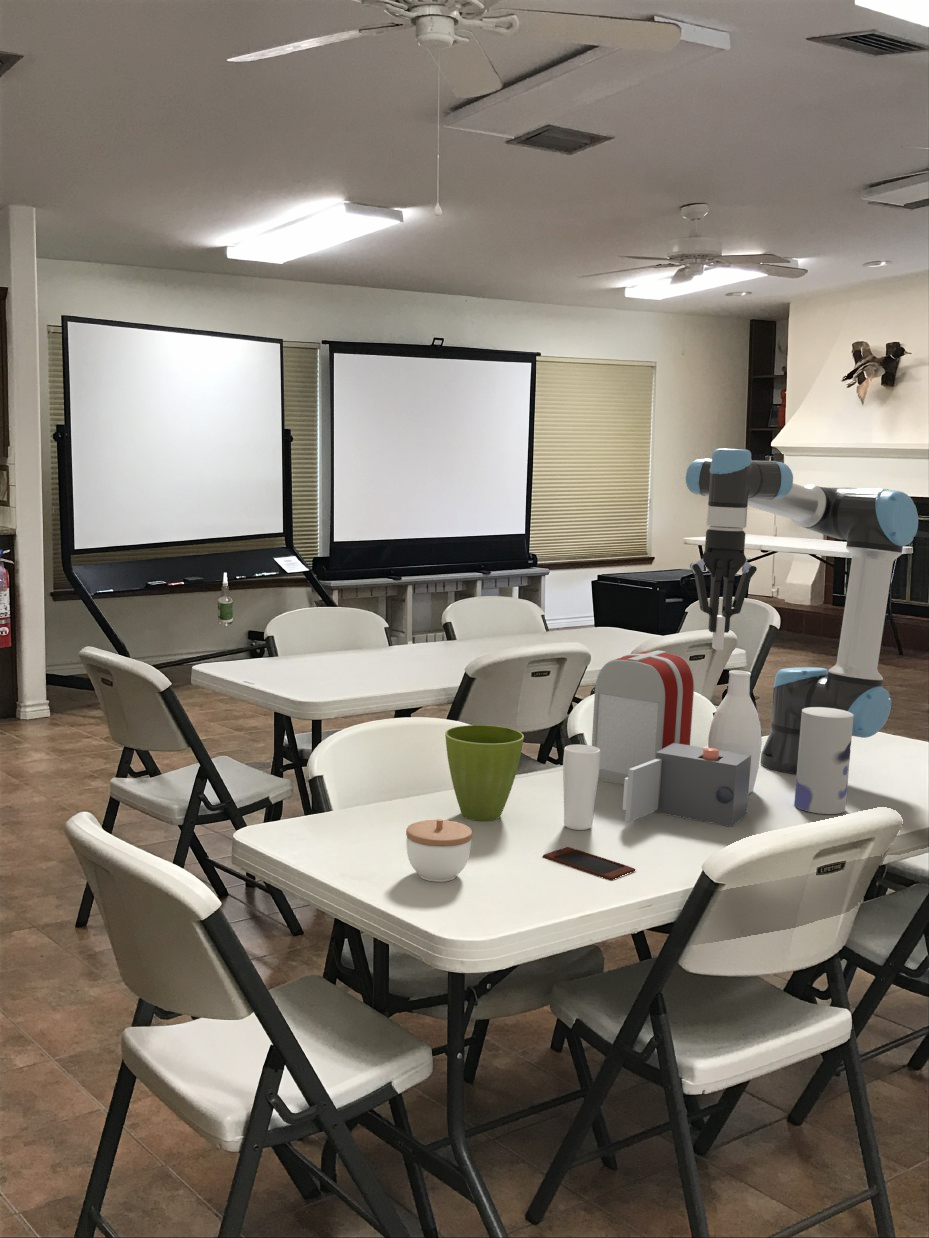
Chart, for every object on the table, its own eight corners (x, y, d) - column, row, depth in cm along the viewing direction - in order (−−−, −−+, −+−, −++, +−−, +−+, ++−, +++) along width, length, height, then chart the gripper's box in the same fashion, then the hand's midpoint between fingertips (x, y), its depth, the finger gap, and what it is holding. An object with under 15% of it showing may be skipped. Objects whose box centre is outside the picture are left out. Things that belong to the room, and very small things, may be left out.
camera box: (669, 800, 243) (673, 742, 242) (746, 814, 236) (751, 755, 234) (650, 812, 234) (654, 753, 232) (730, 828, 226) (734, 766, 225)
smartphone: (567, 845, 210) (637, 867, 200) (567, 850, 210) (636, 873, 200) (541, 854, 205) (611, 877, 195) (541, 859, 205) (611, 883, 195)
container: (847, 817, 237) (856, 718, 234) (795, 812, 239) (803, 714, 236) (842, 803, 246) (850, 708, 244) (792, 798, 248) (800, 704, 246)
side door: (659, 808, 234) (662, 758, 232) (630, 821, 224) (633, 770, 223) (651, 806, 235) (654, 757, 233) (621, 819, 225) (624, 768, 224)
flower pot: (505, 832, 218) (509, 747, 216) (430, 820, 223) (433, 737, 221) (529, 810, 232) (533, 730, 230) (458, 800, 237) (461, 721, 235)
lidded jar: (403, 863, 199) (405, 809, 198) (467, 864, 200) (469, 810, 199) (405, 886, 188) (407, 829, 187) (473, 887, 189) (475, 830, 188)
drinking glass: (599, 824, 225) (604, 746, 223) (591, 834, 219) (596, 754, 217) (564, 819, 227) (569, 742, 225) (555, 829, 221) (560, 750, 219)
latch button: (705, 759, 233) (706, 747, 233) (720, 761, 232) (721, 749, 231) (700, 762, 231) (701, 749, 230) (715, 765, 229) (716, 752, 229)
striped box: (690, 774, 264) (698, 654, 261) (658, 791, 250) (666, 664, 246) (622, 761, 273) (629, 645, 270) (587, 777, 258) (594, 654, 255)
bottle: (700, 792, 250) (708, 673, 247) (709, 779, 261) (718, 665, 257) (753, 799, 246) (763, 678, 243) (761, 786, 257) (770, 670, 253)
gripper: (753, 529, 235) (744, 646, 239) (688, 526, 234) (680, 644, 238) (764, 531, 228) (755, 653, 231) (697, 528, 227) (689, 650, 230)
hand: (717, 648), depth 234 cm, fingers closed
